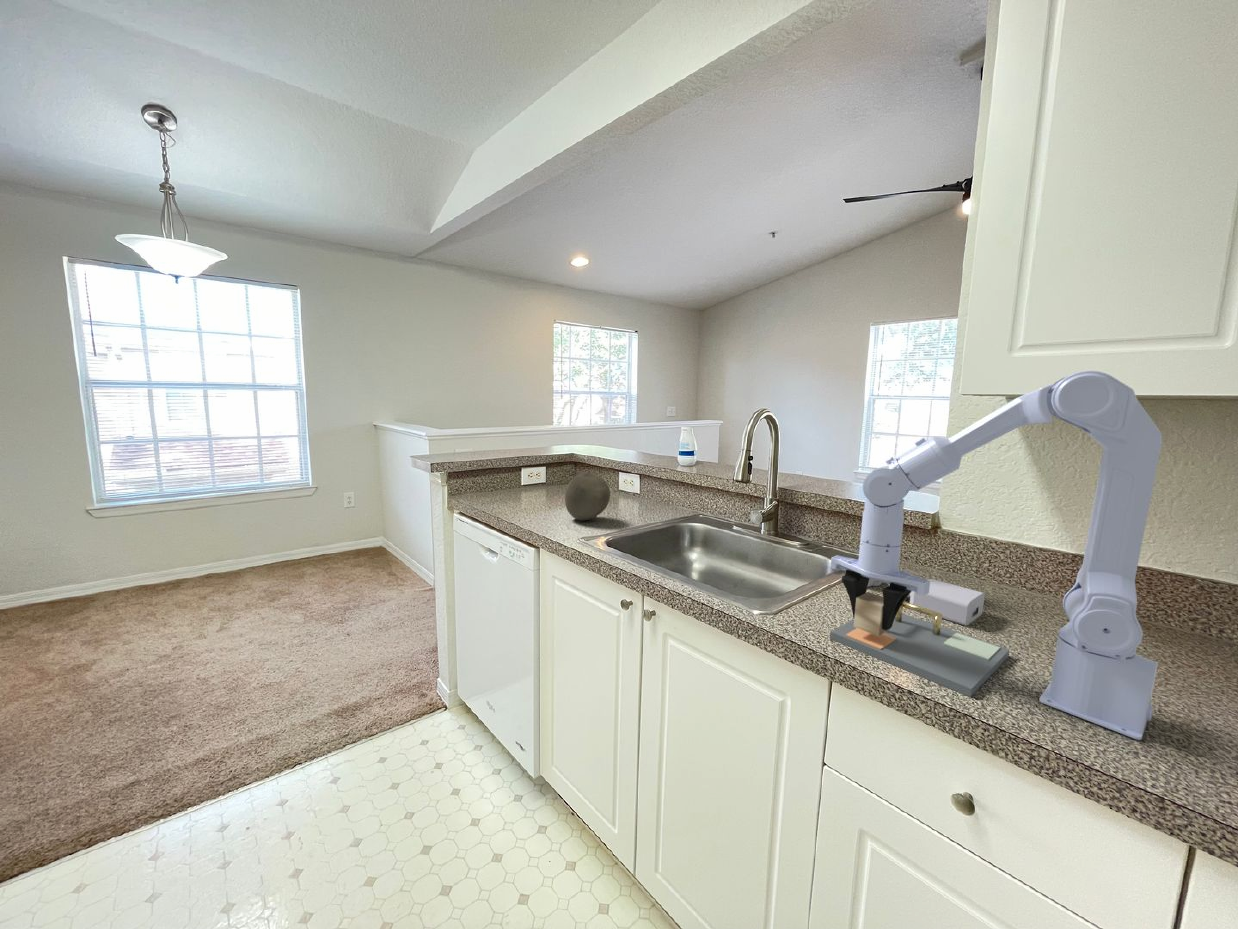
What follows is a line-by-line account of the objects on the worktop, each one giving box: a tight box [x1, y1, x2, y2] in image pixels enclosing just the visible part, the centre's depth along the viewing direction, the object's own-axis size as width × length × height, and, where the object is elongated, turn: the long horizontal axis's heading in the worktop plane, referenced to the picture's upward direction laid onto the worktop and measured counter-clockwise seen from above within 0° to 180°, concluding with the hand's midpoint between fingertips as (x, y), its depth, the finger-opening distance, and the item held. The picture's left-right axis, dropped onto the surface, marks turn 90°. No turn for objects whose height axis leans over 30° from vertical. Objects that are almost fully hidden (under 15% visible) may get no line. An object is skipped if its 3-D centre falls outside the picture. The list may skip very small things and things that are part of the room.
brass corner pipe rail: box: [895, 601, 943, 636], centre depth 82 cm, size 7×7×4 cm
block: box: [853, 591, 890, 636], centre depth 80 cm, size 4×4×5 cm
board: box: [829, 612, 1010, 698], centre depth 80 cm, size 20×18×1 cm
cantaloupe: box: [564, 472, 611, 522], centre depth 155 cm, size 14×14×15 cm
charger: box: [888, 578, 986, 627], centre depth 96 cm, size 5×9×15 cm
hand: (872, 622), depth 80 cm, fingers closed on block, 4 cm apart
